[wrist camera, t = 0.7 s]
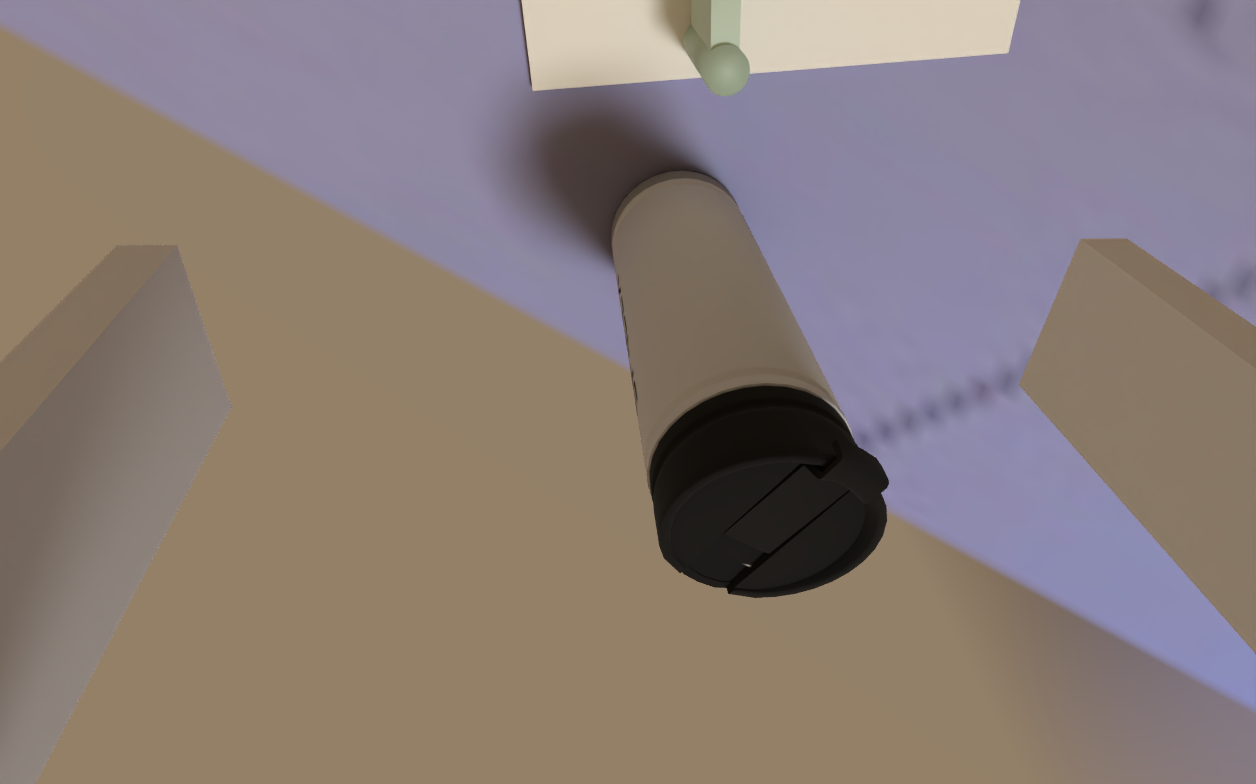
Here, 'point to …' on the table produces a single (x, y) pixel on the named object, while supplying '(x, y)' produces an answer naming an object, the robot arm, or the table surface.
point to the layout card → (753, 36)
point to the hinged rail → (717, 45)
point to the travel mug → (734, 403)
